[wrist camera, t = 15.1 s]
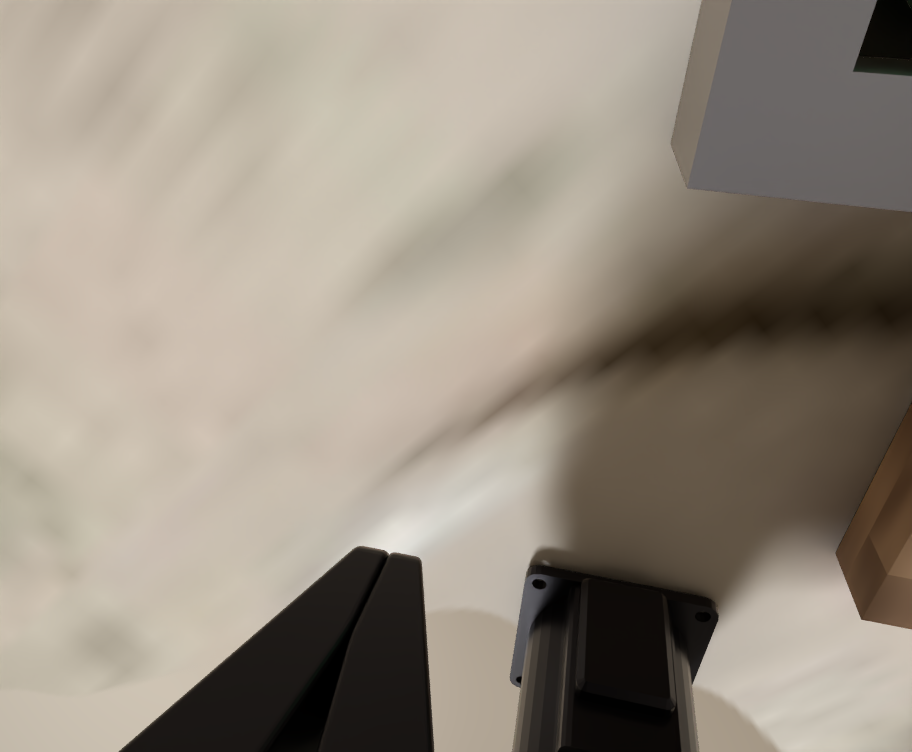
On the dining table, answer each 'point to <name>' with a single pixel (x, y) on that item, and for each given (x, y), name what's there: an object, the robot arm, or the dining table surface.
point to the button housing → (795, 106)
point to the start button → (911, 1)
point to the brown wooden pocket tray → (883, 539)
